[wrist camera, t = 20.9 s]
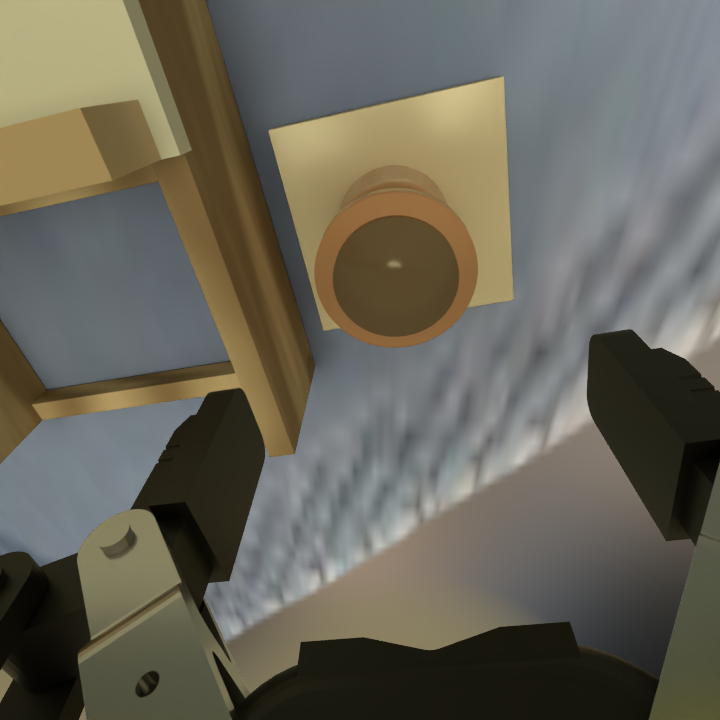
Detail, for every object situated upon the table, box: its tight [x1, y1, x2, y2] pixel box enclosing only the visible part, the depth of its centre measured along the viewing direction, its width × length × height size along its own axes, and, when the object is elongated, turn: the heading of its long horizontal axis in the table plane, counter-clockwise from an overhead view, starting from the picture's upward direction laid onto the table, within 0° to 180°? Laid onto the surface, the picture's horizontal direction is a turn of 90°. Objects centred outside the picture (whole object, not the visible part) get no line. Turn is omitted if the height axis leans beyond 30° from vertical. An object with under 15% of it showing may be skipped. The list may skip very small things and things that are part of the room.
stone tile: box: [268, 76, 514, 331], centre depth 23 cm, size 10×10×1 cm
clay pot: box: [314, 165, 478, 347], centre depth 20 cm, size 6×6×7 cm
